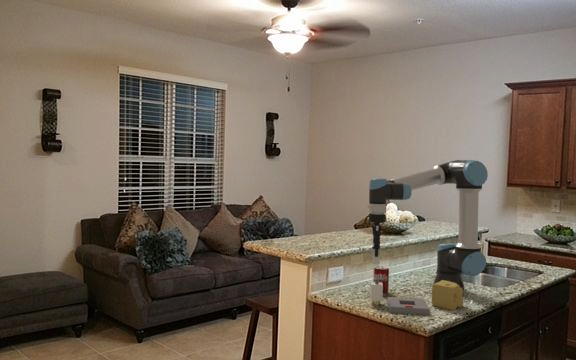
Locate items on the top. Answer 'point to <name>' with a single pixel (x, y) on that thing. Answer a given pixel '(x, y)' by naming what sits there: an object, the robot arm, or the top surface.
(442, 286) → the cheese
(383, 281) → the soda can
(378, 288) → the plug
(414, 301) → the socket
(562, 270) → the top surface
